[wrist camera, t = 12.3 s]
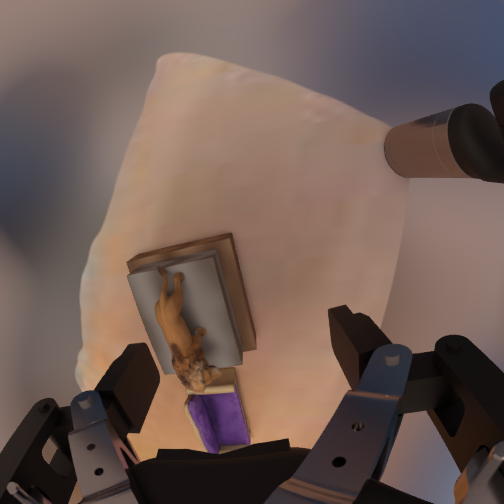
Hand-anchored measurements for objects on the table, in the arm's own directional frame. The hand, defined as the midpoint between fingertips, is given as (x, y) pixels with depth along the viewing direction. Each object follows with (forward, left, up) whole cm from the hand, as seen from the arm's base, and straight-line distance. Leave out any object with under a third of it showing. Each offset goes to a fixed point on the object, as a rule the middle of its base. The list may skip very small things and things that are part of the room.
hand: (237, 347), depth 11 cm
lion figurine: (+9, +8, -23) cm, 26 cm away
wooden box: (+10, +9, -33) cm, 36 cm away
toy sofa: (+12, +34, -34) cm, 49 cm away
